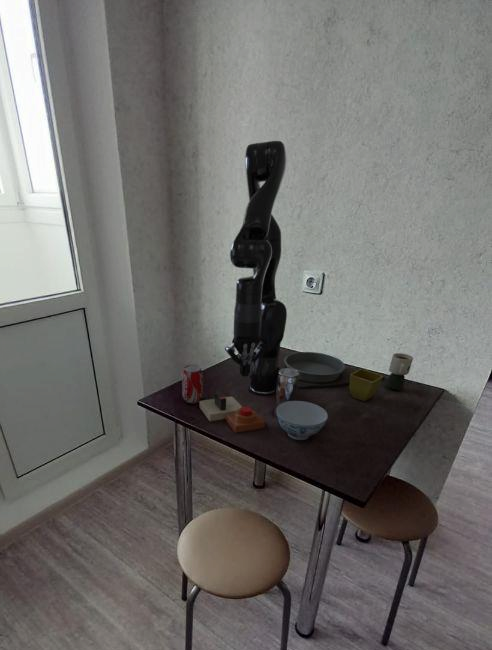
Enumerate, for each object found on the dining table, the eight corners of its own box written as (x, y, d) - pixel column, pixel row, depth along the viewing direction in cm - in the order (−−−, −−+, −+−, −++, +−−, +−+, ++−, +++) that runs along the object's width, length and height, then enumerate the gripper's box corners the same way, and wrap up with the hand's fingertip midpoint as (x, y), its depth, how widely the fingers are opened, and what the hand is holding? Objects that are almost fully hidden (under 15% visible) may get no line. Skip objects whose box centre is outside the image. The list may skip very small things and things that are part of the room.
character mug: (405, 395, 150) (415, 362, 144) (385, 392, 152) (394, 360, 145) (402, 384, 159) (411, 352, 153) (383, 381, 161) (391, 350, 154)
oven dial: (214, 403, 133) (214, 391, 131) (219, 402, 134) (219, 390, 132) (220, 410, 129) (221, 398, 127) (225, 410, 130) (226, 398, 127)
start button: (248, 410, 128) (248, 405, 127) (253, 415, 125) (253, 410, 124) (238, 412, 126) (238, 407, 125) (242, 417, 123) (243, 412, 123)
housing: (253, 415, 132) (254, 405, 130) (264, 427, 126) (265, 416, 124) (225, 420, 129) (226, 409, 127) (235, 432, 123) (236, 421, 120)
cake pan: (271, 372, 165) (272, 361, 162) (302, 357, 181) (303, 347, 179) (325, 390, 151) (327, 379, 149) (353, 372, 168) (355, 362, 165)
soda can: (199, 406, 137) (200, 373, 130) (179, 403, 138) (179, 370, 132) (204, 397, 143) (205, 365, 136) (185, 394, 144) (185, 363, 137)
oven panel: (231, 402, 140) (232, 395, 138) (245, 417, 131) (245, 409, 130) (199, 407, 136) (199, 400, 134) (210, 422, 127) (211, 415, 126)
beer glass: (280, 420, 130) (286, 378, 122) (268, 411, 135) (273, 369, 127) (297, 416, 133) (304, 374, 125) (285, 407, 138) (291, 366, 130)
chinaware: (290, 452, 115) (294, 428, 111) (265, 426, 126) (267, 405, 122) (333, 442, 120) (338, 419, 116) (305, 419, 132) (308, 397, 128)
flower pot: (378, 398, 147) (384, 375, 143) (367, 405, 142) (373, 382, 137) (355, 390, 152) (361, 368, 148) (344, 397, 147) (349, 374, 142)
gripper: (261, 312, 117) (257, 368, 126) (220, 316, 112) (219, 374, 121) (275, 319, 111) (269, 377, 120) (231, 324, 106) (229, 383, 115)
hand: (244, 375), depth 121 cm, fingers closed
